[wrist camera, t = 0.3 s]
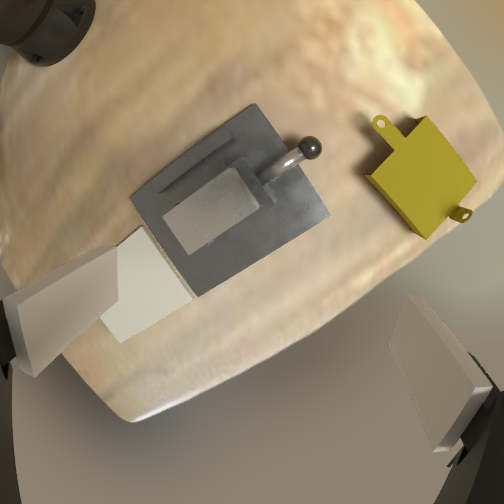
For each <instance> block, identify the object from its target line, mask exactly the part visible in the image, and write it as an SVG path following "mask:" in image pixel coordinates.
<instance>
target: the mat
mask: <svg viewBox="0 0 504 504" xmlns="http://www.w3.org/2000/svg"><path fill="white" fill-rule="evenodd" d="M117 274H118V301H117V302H116V303H115V304H114V305H113V306H112V307H110V308H109V309H108V310H107V311H106V312H105V313H104V314H103V315H101V316H100V318H101V319H102V321H103V322H104V323H105V325H106V326H107V327H108V329H109V330H110V331H111V333H112V334H113V335H114V336H115V338H116V339H117V340H118V342H119V343H122V342H124V341H125V340H127V339H129V338H130V337H132V336H134V335H135V334H137V333H139V332H140V331H142V330H144V329H145V328H147V327H149V326H150V325H152V324H154V323H155V322H157V321H159V320H160V319H162V318H163V317H165V316H167V315H168V314H170V313H172V312H173V311H175V310H177V309H178V308H180V307H182V306H183V305H185V304H187V303H188V302H190V301H192V300H193V299H194V296H193V295H192V294H191V292H190V291H189V290H188V288H187V287H186V285H185V284H184V283H183V281H182V280H181V279H180V277H179V276H178V274H177V273H176V272H175V270H174V269H173V267H172V266H171V265H170V263H169V262H168V260H167V259H166V257H165V256H164V255H163V253H162V252H161V250H160V249H159V247H158V246H157V245H156V243H155V242H154V240H153V239H152V237H151V236H150V234H149V233H148V231H147V230H146V228H145V227H144V226H142V227H140V228H139V229H138V230H137V231H135V232H134V233H133V234H132V235H131V236H129V237H128V238H127V239H126V240H124V241H123V242H122V243H121V244H120V245H118V246H117Z"/></svg>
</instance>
